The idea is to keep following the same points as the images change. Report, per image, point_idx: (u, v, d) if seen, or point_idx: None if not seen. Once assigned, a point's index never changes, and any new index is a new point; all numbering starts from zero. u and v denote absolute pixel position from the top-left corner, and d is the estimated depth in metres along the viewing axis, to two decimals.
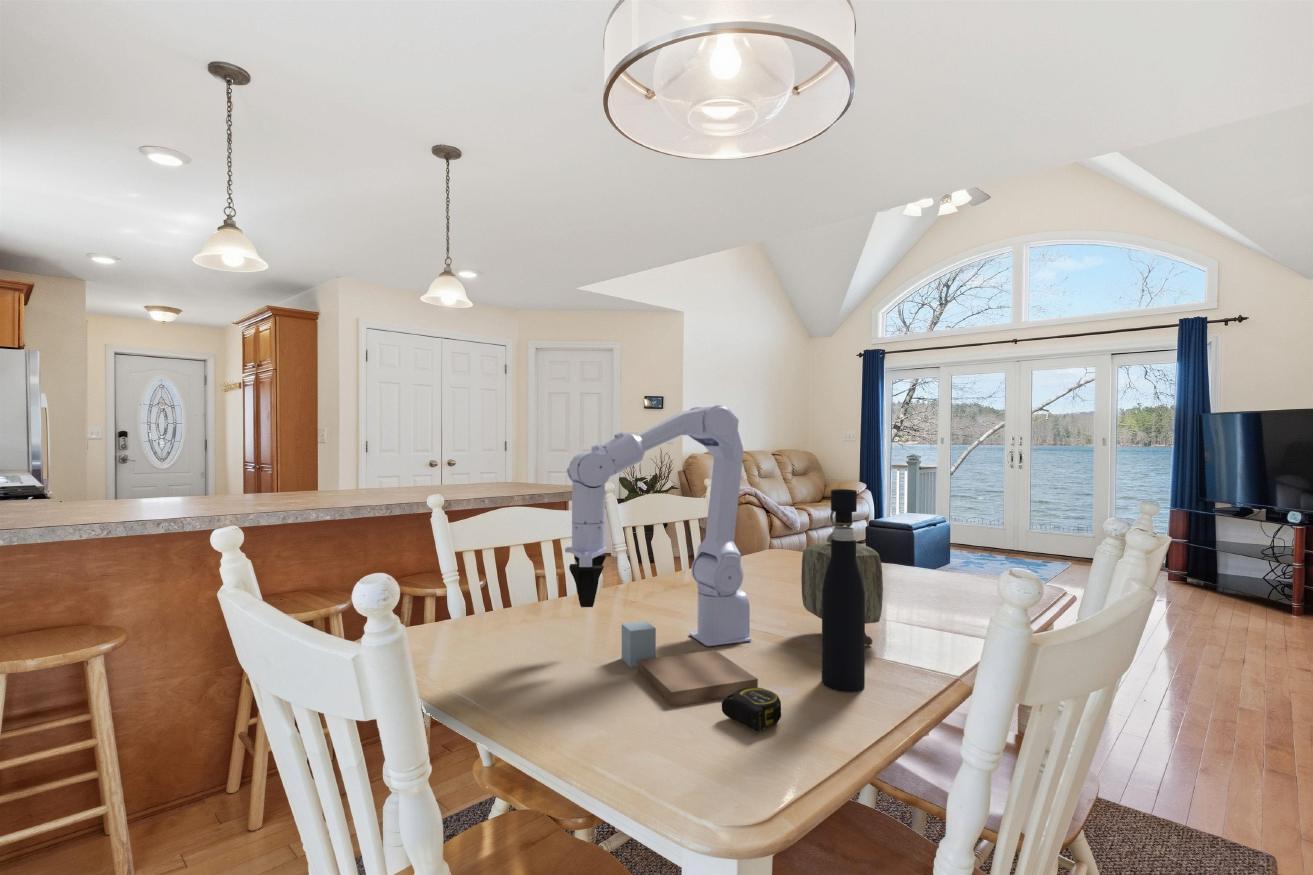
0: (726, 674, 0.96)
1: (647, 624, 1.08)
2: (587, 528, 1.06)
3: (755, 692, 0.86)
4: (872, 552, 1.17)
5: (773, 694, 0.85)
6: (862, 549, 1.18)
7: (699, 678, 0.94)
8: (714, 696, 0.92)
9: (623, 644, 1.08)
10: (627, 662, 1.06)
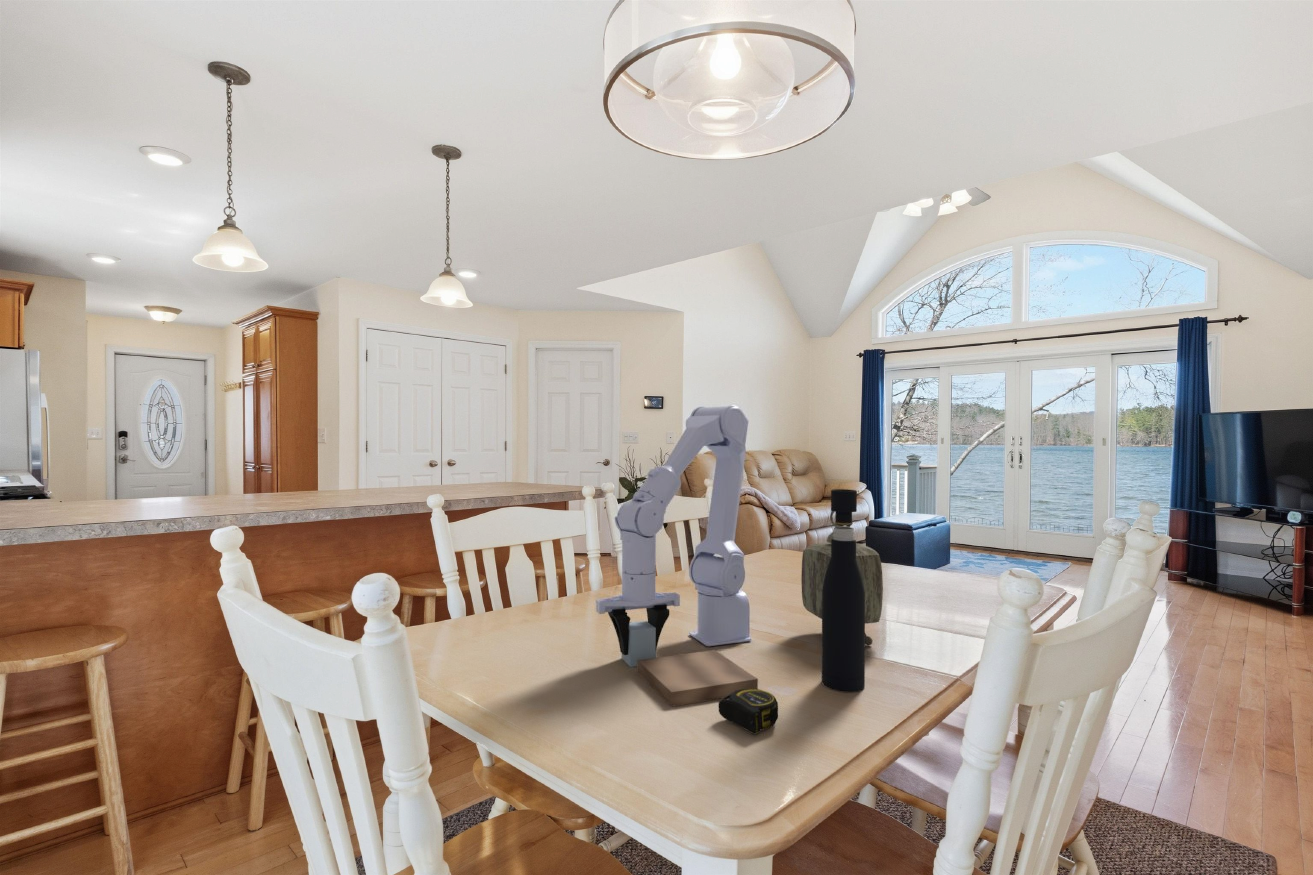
0: (726, 674, 0.96)
1: (647, 624, 1.08)
2: (623, 576, 1.06)
3: (752, 693, 0.85)
4: (872, 552, 1.17)
5: (770, 695, 0.84)
6: (862, 549, 1.18)
7: (699, 678, 0.94)
8: (714, 696, 0.92)
9: None
10: (627, 662, 1.06)
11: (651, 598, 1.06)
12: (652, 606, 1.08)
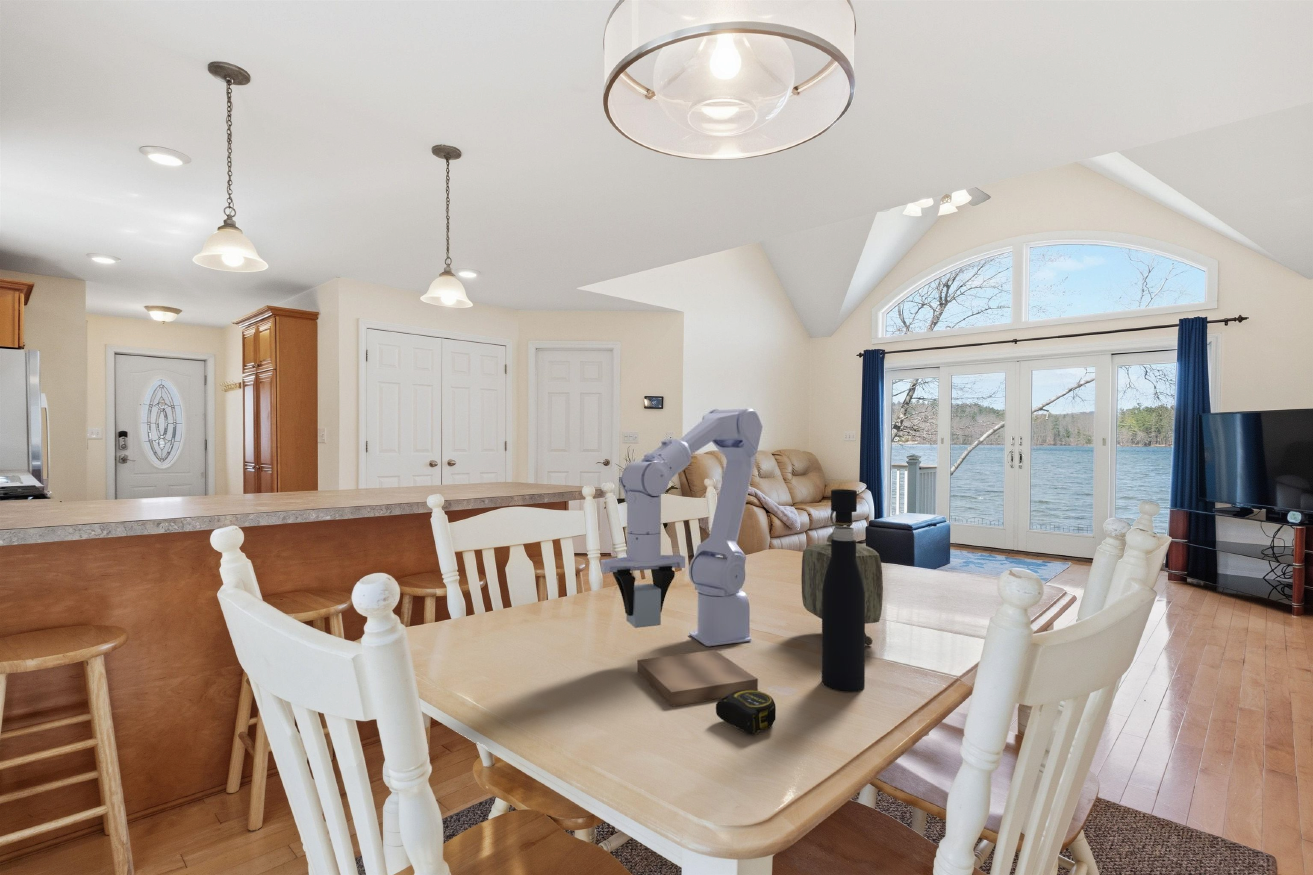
0: (726, 674, 0.96)
1: (652, 586, 1.08)
2: (628, 536, 1.06)
3: (749, 695, 0.85)
4: (872, 552, 1.17)
5: (768, 696, 0.84)
6: (862, 549, 1.18)
7: (699, 678, 0.94)
8: (714, 696, 0.92)
9: None
10: (632, 623, 1.05)
11: (656, 558, 1.05)
12: (657, 567, 1.07)
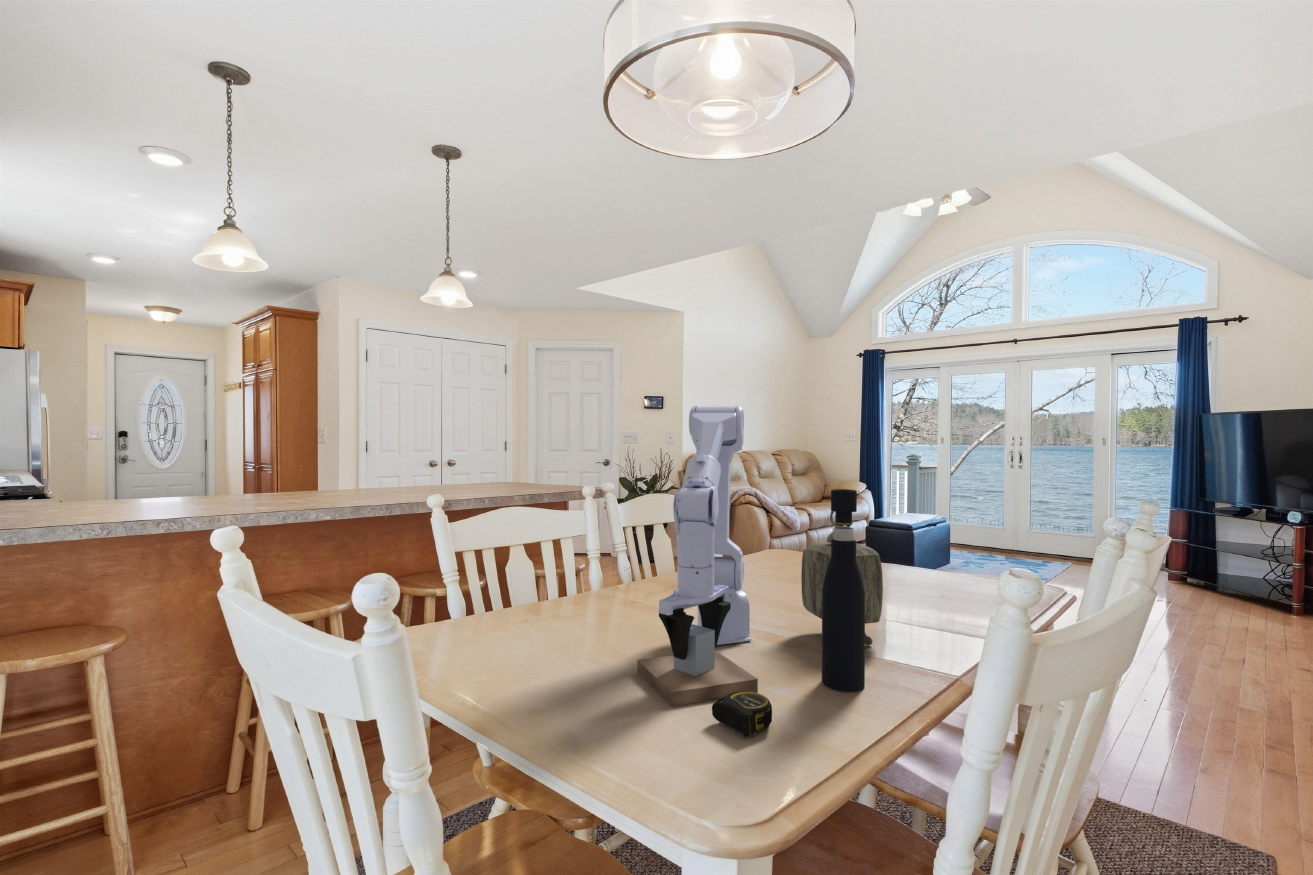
0: (726, 674, 0.96)
1: (700, 627, 1.00)
2: (683, 571, 0.96)
3: (745, 696, 0.84)
4: (872, 552, 1.17)
5: (764, 698, 0.83)
6: (862, 549, 1.18)
7: (699, 678, 0.94)
8: (714, 696, 0.92)
9: None
10: (688, 671, 0.96)
11: (713, 592, 0.98)
12: (707, 601, 1.00)
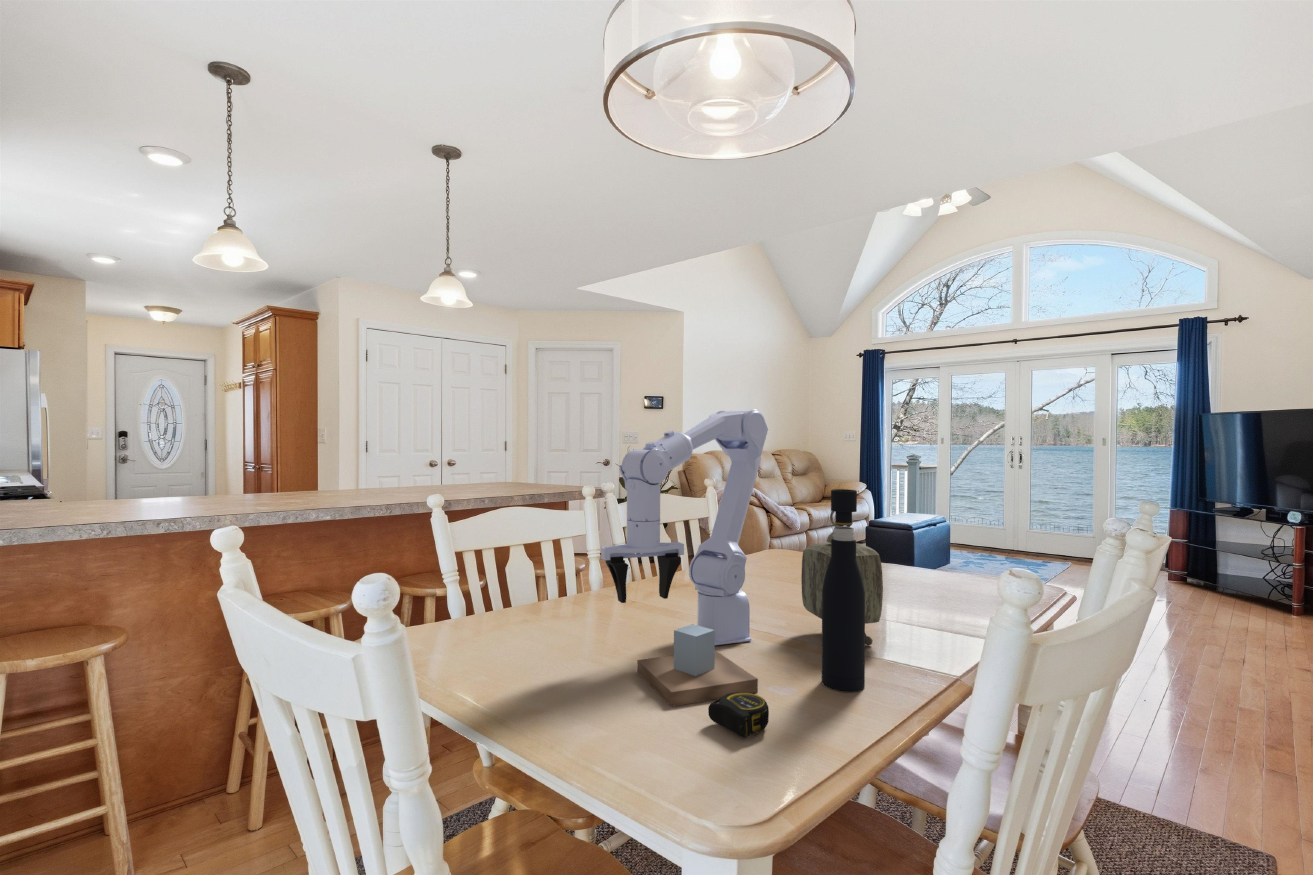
0: (726, 674, 0.96)
1: (700, 627, 1.00)
2: (628, 524, 1.07)
3: (742, 697, 0.84)
4: (872, 552, 1.17)
5: (761, 699, 0.83)
6: (862, 549, 1.18)
7: (699, 678, 0.94)
8: (714, 696, 0.92)
9: (678, 652, 0.98)
10: (688, 671, 0.96)
11: (656, 545, 1.06)
12: (657, 554, 1.08)
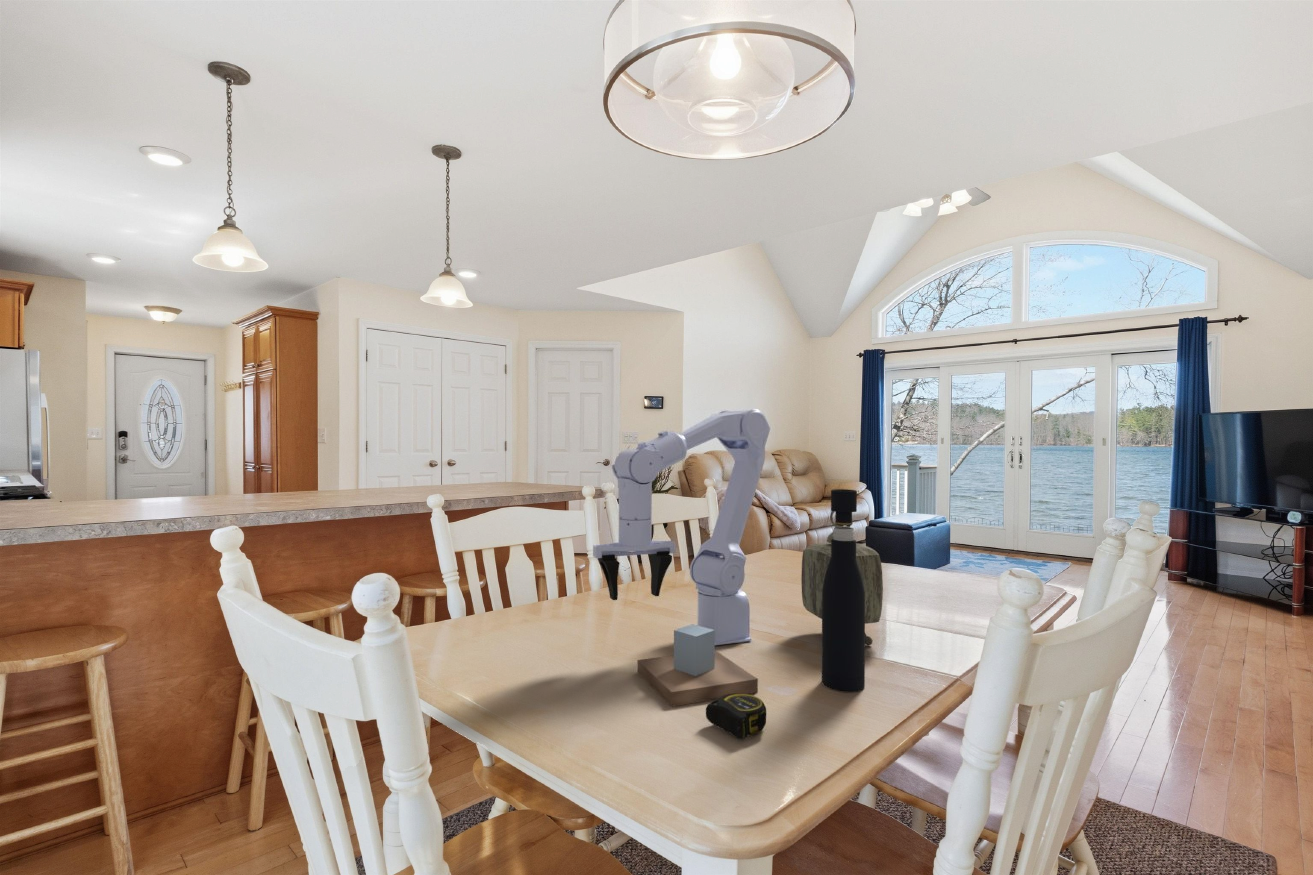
0: (726, 674, 0.96)
1: (700, 627, 1.00)
2: (619, 522, 1.08)
3: (739, 698, 0.84)
4: (872, 552, 1.17)
5: (758, 700, 0.83)
6: (862, 549, 1.18)
7: (699, 678, 0.94)
8: (714, 696, 0.92)
9: (678, 652, 0.98)
10: (688, 671, 0.96)
11: (647, 544, 1.08)
12: (648, 553, 1.10)
